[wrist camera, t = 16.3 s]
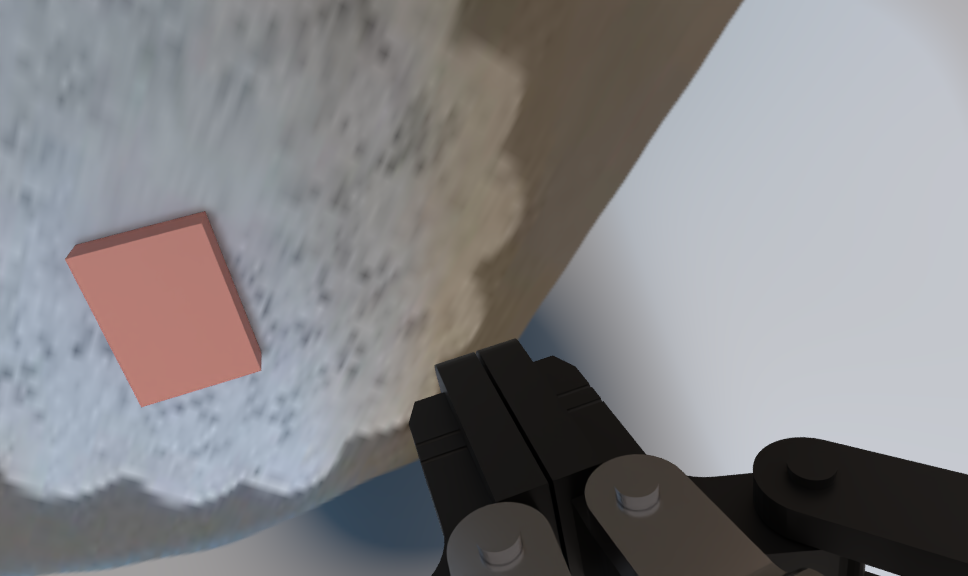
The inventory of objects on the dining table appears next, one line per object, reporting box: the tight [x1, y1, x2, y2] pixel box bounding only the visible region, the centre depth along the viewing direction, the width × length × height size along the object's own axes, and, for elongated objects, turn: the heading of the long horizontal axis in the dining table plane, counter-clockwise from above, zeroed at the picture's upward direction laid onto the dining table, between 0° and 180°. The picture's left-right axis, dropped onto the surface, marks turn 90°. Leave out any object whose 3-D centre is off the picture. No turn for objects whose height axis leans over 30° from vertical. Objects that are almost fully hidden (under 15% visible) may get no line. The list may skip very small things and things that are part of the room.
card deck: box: [65, 211, 261, 407], centre depth 36 cm, size 9×2×6 cm
